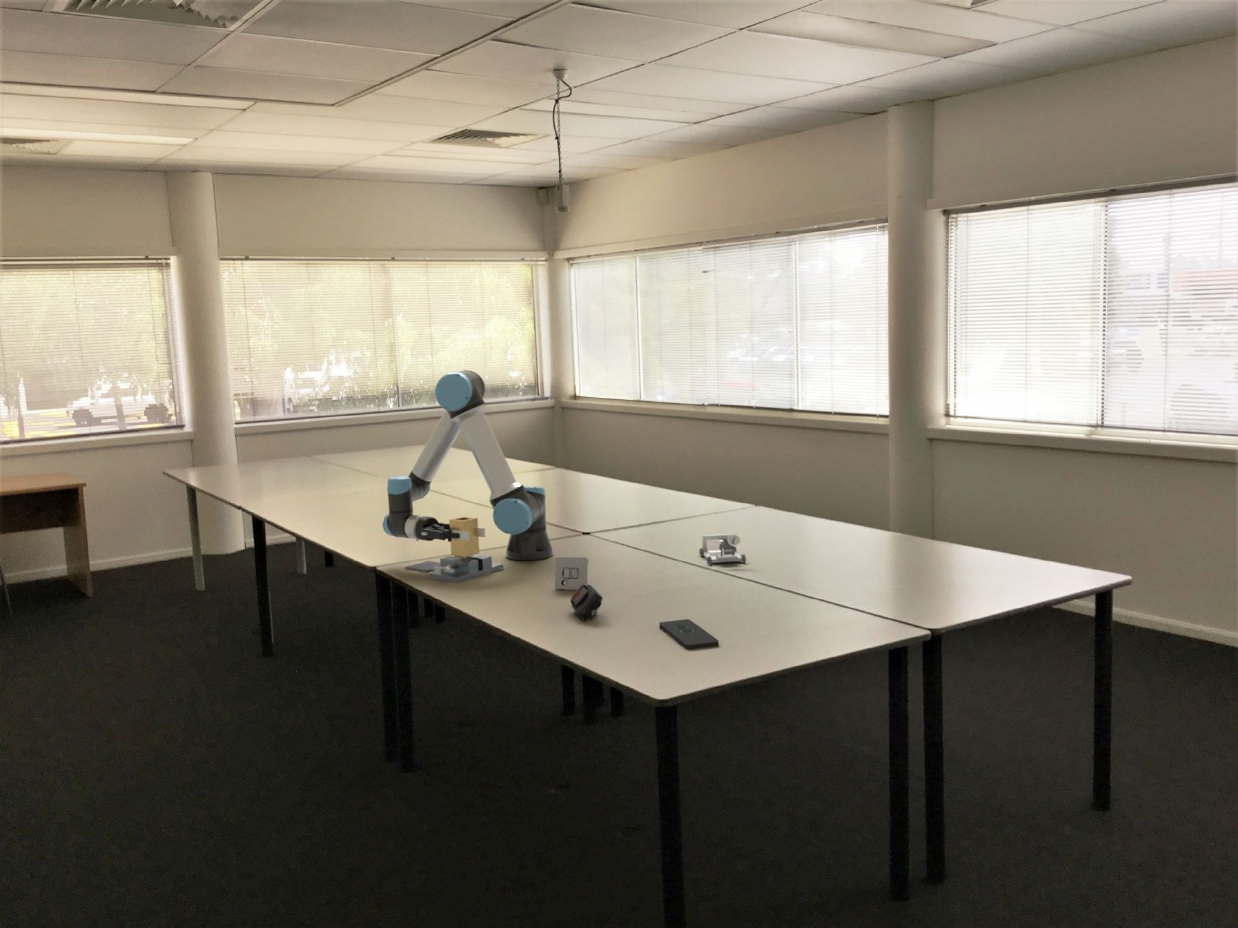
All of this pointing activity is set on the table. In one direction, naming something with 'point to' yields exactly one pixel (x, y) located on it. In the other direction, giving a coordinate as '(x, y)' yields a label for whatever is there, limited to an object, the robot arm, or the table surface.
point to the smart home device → (688, 634)
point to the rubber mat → (424, 566)
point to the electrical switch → (571, 572)
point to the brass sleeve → (465, 547)
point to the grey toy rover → (721, 548)
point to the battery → (586, 601)
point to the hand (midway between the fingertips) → (476, 534)
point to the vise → (464, 568)
